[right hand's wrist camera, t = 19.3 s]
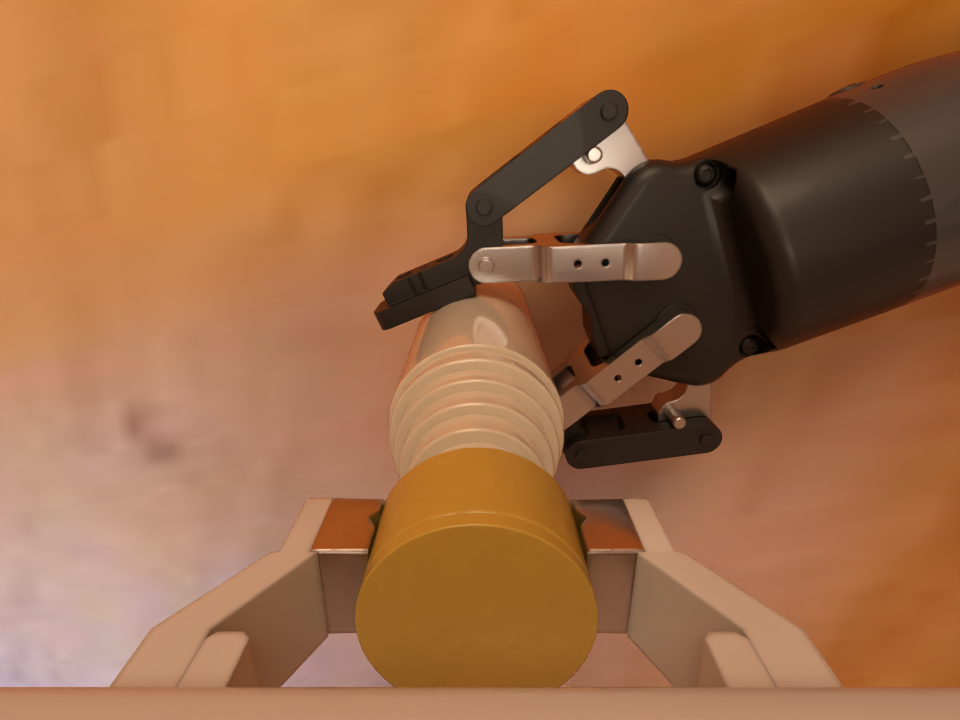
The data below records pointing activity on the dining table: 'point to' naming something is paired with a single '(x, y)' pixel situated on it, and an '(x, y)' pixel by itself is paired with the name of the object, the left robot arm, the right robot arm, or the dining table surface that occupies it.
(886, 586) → the dining table surface
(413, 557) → the cap
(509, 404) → the bottle
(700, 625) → the right robot arm
